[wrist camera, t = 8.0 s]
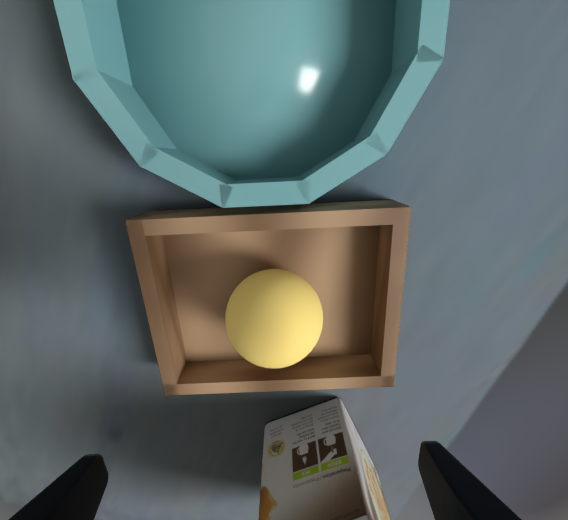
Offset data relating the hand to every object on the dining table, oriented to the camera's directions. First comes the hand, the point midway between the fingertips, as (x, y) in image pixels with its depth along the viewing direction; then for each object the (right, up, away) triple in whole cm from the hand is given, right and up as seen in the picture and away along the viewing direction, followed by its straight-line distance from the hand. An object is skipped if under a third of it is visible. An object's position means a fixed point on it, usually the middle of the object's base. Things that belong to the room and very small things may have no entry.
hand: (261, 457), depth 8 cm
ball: (0, +3, +7) cm, 7 cm away
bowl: (0, +16, +6) cm, 17 cm away
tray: (0, +4, +10) cm, 10 cm away
